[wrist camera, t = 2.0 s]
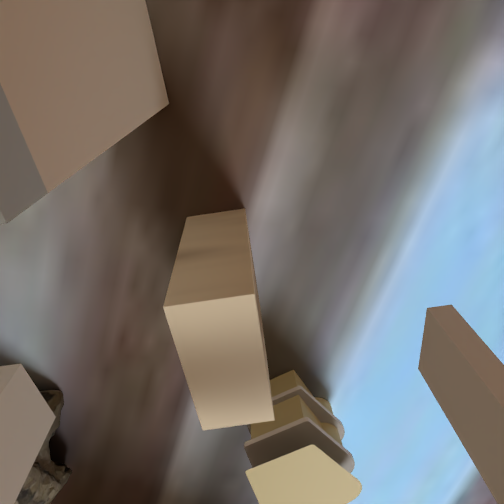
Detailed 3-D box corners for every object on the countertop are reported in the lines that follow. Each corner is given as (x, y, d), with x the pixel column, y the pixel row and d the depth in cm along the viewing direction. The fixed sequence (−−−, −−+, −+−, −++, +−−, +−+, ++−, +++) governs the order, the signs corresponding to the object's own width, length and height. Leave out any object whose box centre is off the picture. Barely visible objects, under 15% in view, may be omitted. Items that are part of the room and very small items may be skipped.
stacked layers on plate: (191, 388, 23) (181, 476, 18) (315, 329, 21) (341, 409, 16) (266, 462, 27) (274, 549, 22) (374, 419, 25) (408, 503, 21)
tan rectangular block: (260, 307, 20) (274, 420, 14) (210, 315, 20) (202, 430, 14) (245, 208, 17) (254, 293, 11) (186, 216, 17) (162, 307, 11)
